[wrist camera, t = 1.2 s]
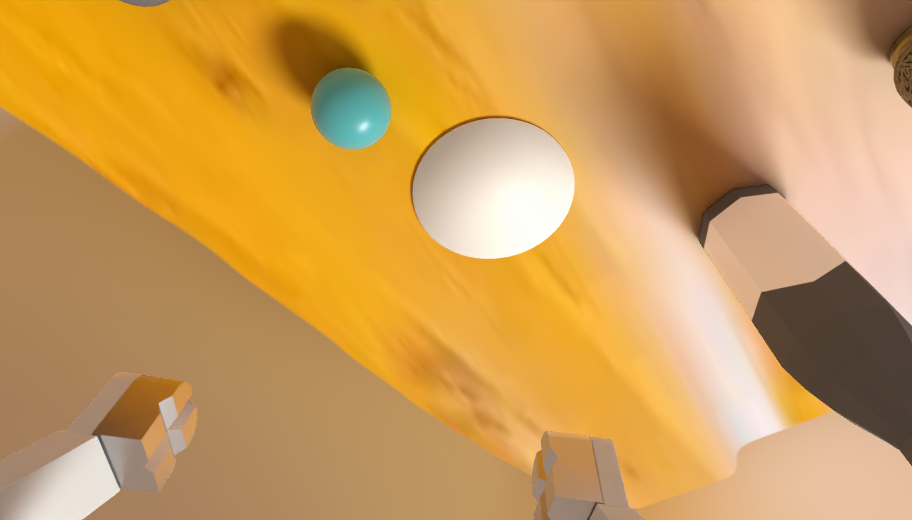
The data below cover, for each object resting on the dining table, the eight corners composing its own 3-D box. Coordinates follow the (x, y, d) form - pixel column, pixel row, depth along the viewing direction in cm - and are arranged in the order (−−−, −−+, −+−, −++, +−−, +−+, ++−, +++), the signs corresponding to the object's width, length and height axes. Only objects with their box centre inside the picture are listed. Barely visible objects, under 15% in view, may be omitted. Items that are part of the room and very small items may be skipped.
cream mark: (385, 152, 41) (385, 153, 41) (553, 92, 38) (553, 93, 38) (446, 273, 50) (446, 275, 49) (588, 231, 47) (588, 233, 47)
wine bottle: (706, 266, 50) (941, 631, 27) (686, 208, 45) (946, 584, 22) (793, 232, 48) (1135, 600, 24) (781, 166, 43) (1185, 540, 20)
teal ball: (304, 72, 37) (286, 102, 33) (373, 44, 36) (364, 71, 32) (341, 139, 40) (329, 174, 36) (405, 115, 39) (401, 148, 35)
